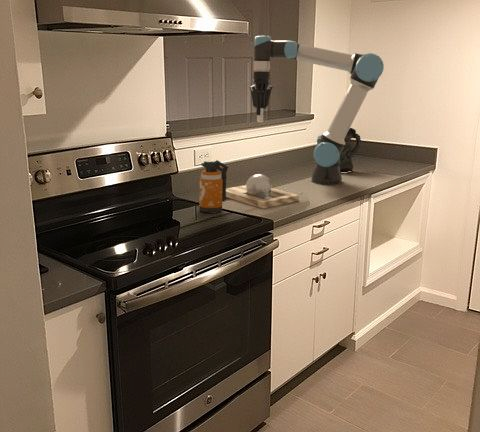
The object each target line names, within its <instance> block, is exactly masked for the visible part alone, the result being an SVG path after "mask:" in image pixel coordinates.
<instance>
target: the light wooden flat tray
mask: <svg viewBox="0 0 480 432" xmlns="http://www.w3.org/2000/svg"><path fill="white" fill-rule="evenodd" d="M268 196H269V197H271V198H264V199H260V198H257V197H253V196H250V195H248V193H247V191H246V184H245V185H237V186H233V187H226V197H227V199H231V200H235V201H237V202H240V203H241V202H242V203H244V204H247V205H250V206H255V207H258V208H260V209H266V208H271V207H276V206H280V205H287V204H290V203H296V202H299V201H300V200H299V199H300V194H296V193H292V192H288V191H284V190H281V189H277V188H273V187H272V188H271V192H270V194H269V195H268Z"/></svg>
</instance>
